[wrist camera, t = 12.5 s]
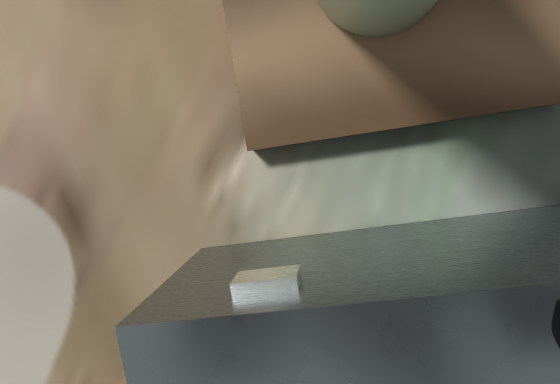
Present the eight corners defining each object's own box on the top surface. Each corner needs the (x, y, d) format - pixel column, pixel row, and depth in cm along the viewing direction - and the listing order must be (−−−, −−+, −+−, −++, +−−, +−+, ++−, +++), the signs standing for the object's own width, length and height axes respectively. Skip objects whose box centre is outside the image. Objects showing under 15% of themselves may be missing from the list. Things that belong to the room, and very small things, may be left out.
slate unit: (711, 391, 19) (978, 588, 11) (233, 421, 22) (171, 590, 14) (703, 177, 18) (995, 223, 10) (199, 239, 21) (112, 313, 13)
